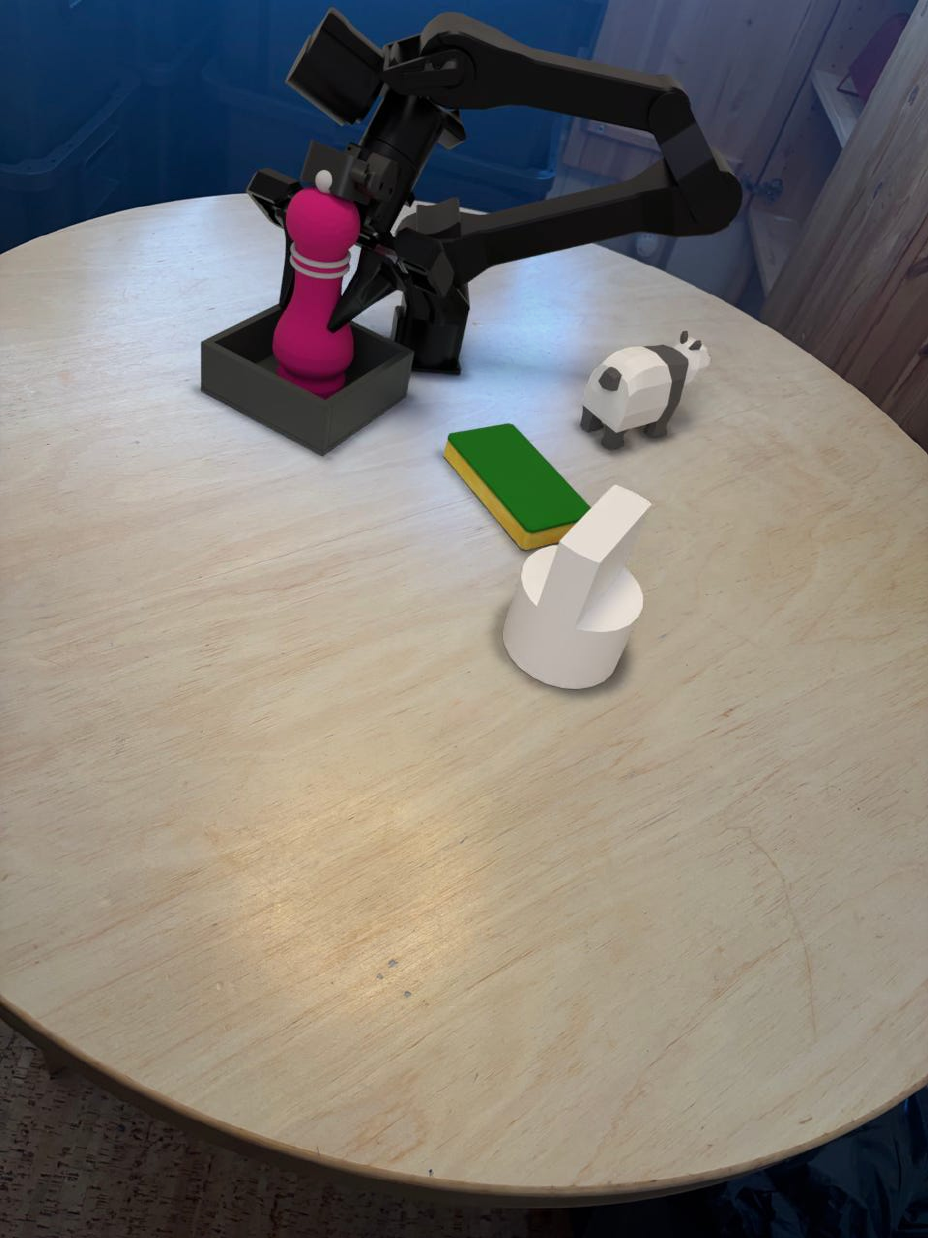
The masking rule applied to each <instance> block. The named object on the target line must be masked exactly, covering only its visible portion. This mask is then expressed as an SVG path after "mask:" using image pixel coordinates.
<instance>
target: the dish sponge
mask: <svg viewBox="0 0 928 1238" xmlns="http://www.w3.org/2000/svg"><path fill="white" fill-rule="evenodd" d="M446 440H447V441H446V442H445V443H446V444H445V448H444V453H443V457H444V458H445V459H446V461H447V462H448V463H449V464H450V465H451V467H452V468H453V469H454V470H455V471H456V472H457V474H458V475H459V476H460V478H462V480H463V481H464V482H465V483H466V484H467V486H468V487H469V488H470V489H471V491H473V493H474V494H475V496H477V498H478V499H479V500H480V501H481V502H482V504H483V505H484V506H485V507H486V509H487V510H488V511H489V512H490V513H491V514H492V515H493V517H494V518H495V519H496V520H497V521H498V523H499V524H500V525H501V526H502V528H503V529H504V530H505V531H506V532H507V534H508V535H509V536H510V537H511V538H512V539H513V541H514V542H515V543H516V545H518V546H519V548H520V549H522V550H525V551H529V550H533V549H536V548H540V547H544V546H550V545H552V544H557V543H559V541H560V540H561V539H562V538H563V537H564V536H565V535H566V534H567V533H568V532H569V531H570V530H571V529H572V528H573V527H574V525H575V524H576V523H577V522H578V521H579V520H580V519H581V518H582V517H583V516H584V515H585V514H586V513H587V512H588V511H589V510H590V509H591V508H592V506H591V505H589V504H588V502H587V501H586V500H585V499H584V498H583V497H582V496H581V495H580V494H579V492H577V491H576V489H574V487H573V486H571V484H570V483H569V482H568V481H567V480H566V479H565V478H564V477H563V476H562V475H561V474H560V472H558V470H557V469H556V468H555V467H554V466H553V465H552V464H551V463H550V462H549V461H548V460H547V459H546V458H545V456H544V455H542V453H541V452H540V451H539V450H538V449H537V448H536V447H535V446H534V445H533V444H532V443H531V442H530V441H529V439H528V438H527V437H526V436H525V435H524V434H523V433H522V432H521V431H520V429H518V428H517V427H516V425H515V424H513V423H510V422H507V423H502V424H501V423H500V424H496V425H490V426H489V425H488V426H485V427H484V426H483V427H479V428H478V427H477V428H473V429H467V430H462V431H456V432H449V433H448V434H447V437H446Z"/></svg>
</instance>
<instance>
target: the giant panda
mask: <svg viewBox="0 0 928 1238" xmlns="http://www.w3.org/2000/svg"><path fill="white" fill-rule="evenodd" d="M712 360H713V357H712V356H711V355H710V354H709V352H708V348H707V347H706V346H705V345H704V344H703V343H702V341H701V339H698V340H697V339H696V338H693V337H692V336H689V332H688V330H683V331H682V332H681V334H680V336H679V338H678V339H676V341H675V342H674V343H672V344H671V345H670V346H669V345H665V344H657V345H641V346H629V347H626V348H622V349H618V350H617V351H615V352H613V353H612V354H610V355H609V356H608V357H607V358H606V359H604V360H603V361H601V363H600V364H598V365H597V366H596V367H594V369H593V371H592V372H591V374H590V376H589V379H588V380H587V383H586V385H585V387H584V392H583V393H584V395H583V398H582V414H581V419H580V425H579V426H580V428H581V430H583V431H585V432H586V433H593V432H594V433H595V432H598V431H600V430H603V429H604V432H603V435H602V438H601V441H600V444H601V445H602V447H603V448H604V449H606V450H608V451H613V450H618V449H621V448H623V447H625V445H626V442H625V440H624V437H625V434H626V433H628V431H629V430H630V429H634V428H637V427H642V426H644V428H643V434H645V435H646V436H647V437H649V438H651V439H657V438H661V437H664V436H667V435H668V430H667V427H668V424H669V422H670V420H671V418H672V417H673V415H674V413H675V411H676V410H677V408H678V406H679V404H680V402H681V399H682V394H683V390H684V389H685V388H687V387H689V386H691V385H693V384H695V383H696V382H699V381H700V380H702V379H703V378H705V376H706V373H707V371H708V368H709V366H710V364H711V363H712Z"/></svg>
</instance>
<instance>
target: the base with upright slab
mask: <svg viewBox="0 0 928 1238" xmlns="http://www.w3.org/2000/svg"><path fill="white" fill-rule="evenodd" d="M651 506H652V503H651V502H650V501H649V500H648V499H646V498H644V497H643V496H641V495H639V494H638V493H636V492H635V491H632V490H630V489H627V488H625V487H622V486H620V485H617V484H613V485H612V486H611V487H610V488H609V489H608V490H607V491H606V492H605V493H604V494H603V495H602V496H601V497H600V498H599V499H598V501H597V502H596V503H594V504H593V506H591V509H590V510H589V511H588V512H587V513H586V514H585V515H584V516H583V517H582V518H581V519H580V520H579V521H578V522H577V523H576V524H575V525H574V527H573V528H572V529H571V530H570V531H569V532H568V533H567V534H566V535H565V536H564V537H563V538H562V539H561V540H560V541H559V542H558V544H555V545H547V546H546V547H542V548H541V549H537V550H536V551H534V552H533V553H532V554H531V555H529V556H528V557H527V559H526V560H525V562H524V563H523V565H522V567H521V570H520V573H519V577H518V580H517V583H516V586H515V589H514V593H513V596H512V599H511V601H510V605H509V608H508V612H507V615H506V617H505V621H504V625H503V629H502V639H503V645H504V648H505V649H506V652H507V653H508V655H509V657H510V659H511V660H512V661H513V662H514V663H515V664H516V665H517V666H518V668H519V669H521V671H523V672H525V673H526V674H528V676H530V677H531V678H533V679H535V680H537V681H540V682H542V683H544V684H546V685H549V686H552V687H553V686H554V687H557V688H561V689H572V690H573V689H574V690H581V689H586V688H593V687H595V686H597V685H599V684H601V683H603V682H605V681H606V680H607V679H608V678H609V677H610V676H611V675H613V673H614V671H615V669H616V667H617V665H618V663H619V661H620V658H621V656H622V654H623V652H624V650H625V647H626V645H627V643H628V641H629V639H630V636H631V634H632V632H633V631H634V630H633V629H634V627H635V626H636V624H637V621H638V618H639V617H640V615H641V613H642V610H643V608H644V606H643V605H644V595H643V591H642V589H641V586H640V584H639V582H638V581H637V580H636V578H635V576H634V575H633V573H631V572H630V571H629V569H628V568H626V566H627V563H628V562H629V559H630V557H631V554H632V552H633V549H634V548H635V545H636V542H637V540H638V537H639V535H640V534H641V530H642V528H643V526H644V523H645V520H646V518H647V516H648V514H649V511H650V509H651Z"/></svg>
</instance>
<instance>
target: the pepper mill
mask: <svg viewBox="0 0 928 1238" xmlns="http://www.w3.org/2000/svg"><path fill="white" fill-rule="evenodd" d="M331 184H332V176H331V174H330V173H329V172H328V171H326V170H322V171H320V172H319V173H318V174H317V175H316V184H315V185H311V186H306V187H303V188H304V189H302V190H301V191H299V192H298V193H297V194H296V195H295V196H294V197H293V198H292V200H291V202H290V204H289V206H288V210H287V214H286V226H287V230H288V233H289V235H290V237H291V238H292V240H293V241H294V242H293V243H292V245H291V253H292V254H291V256H290V262H291V265H292V266H293V267H294V268H295V284H294V292H293V295H292V298H291V301H290V303H289V305H288V306H287V308H286V310H285V311H284V313H283V315H282V316H281V318H280V320H279V322H278V324H277V327H276V329H275V332H274V338H273V346H272V347H273V353H274V355H275V357H276V359H277V361H278V362H279V366H278V367H277V375H278V376H280V377H282V378H284V379H286V380H288V381H290V382H291V383H293V384H295V385H297V386H299V387H301V388H303V389H305V390H307V391H309V392H311V393H313V394H315V395H317V396H319V397H320V398H322V399H324V400H326V399H328V398H329V397H331V396H332V395H334V394H336V393H337V392H339V391H340V390H342V389H343V388H344V386H345V374H344V372H343V371H345V370H346V369H347V368H348V367H349V365H350V364H351V362H352V359H353V343H354V342H353V337H352V331H351V328H350V325H349V323H347V324H346V325H345V326H343V327H342V328H341V329H339V330H338V331H337V332H335V333H331V332H330V331H329V330H328V329H327V324H328V322H329V320H330V317H331V315H332V313H333V310H334V309H335V307H336V305H337V303H338V302H339V300H340V298H341V296H342V294H343V281H344V276H345V275H347V274H348V273H349V272H350V270H351V264H350V263H351V260H352V254H351V253H352V252H351V251H350V249H351V248H352V247H353V246H355V245H354V244H355V243H356V241H357V239H358V236H359V232H360V216H359V212H358V209H357V207H356V205H355V204H354V202H350V201H348V200H345V199H343V198H341V197H338V196H336V195H334V194H331V193H330V190H329V189H328V188H329V187H330V186H331Z"/></svg>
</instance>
